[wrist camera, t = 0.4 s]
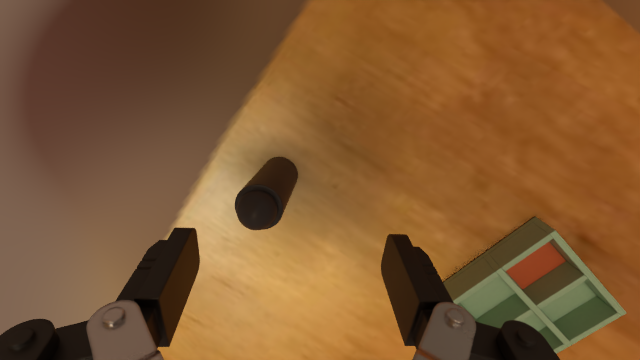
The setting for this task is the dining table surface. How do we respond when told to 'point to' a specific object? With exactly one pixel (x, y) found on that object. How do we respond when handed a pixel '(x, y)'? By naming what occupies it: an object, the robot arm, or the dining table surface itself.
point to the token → (266, 194)
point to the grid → (535, 287)
